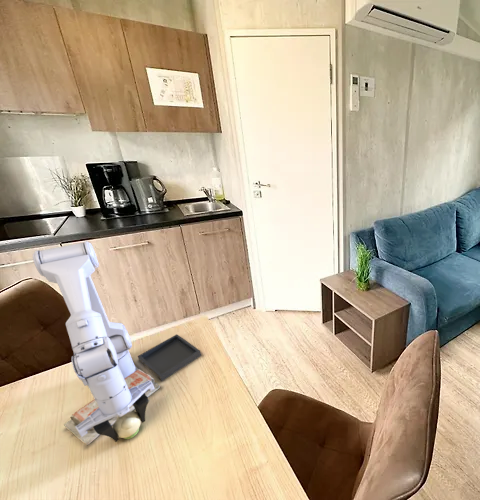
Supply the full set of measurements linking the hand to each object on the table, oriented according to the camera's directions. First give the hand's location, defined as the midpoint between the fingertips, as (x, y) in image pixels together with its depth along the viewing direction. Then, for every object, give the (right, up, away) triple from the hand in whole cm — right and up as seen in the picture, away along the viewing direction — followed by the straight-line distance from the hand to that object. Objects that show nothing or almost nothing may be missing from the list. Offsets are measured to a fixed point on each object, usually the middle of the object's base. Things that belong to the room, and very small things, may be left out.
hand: (129, 429), depth 69 cm
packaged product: (-9, +1, +7) cm, 11 cm away
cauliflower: (0, -1, +1) cm, 1 cm away
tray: (-4, +9, +23) cm, 25 cm away
